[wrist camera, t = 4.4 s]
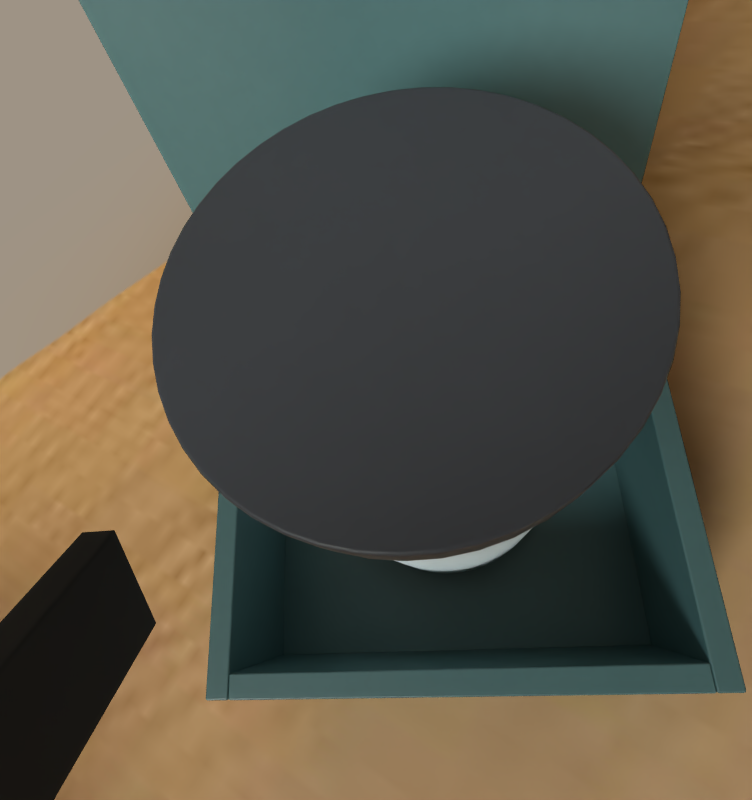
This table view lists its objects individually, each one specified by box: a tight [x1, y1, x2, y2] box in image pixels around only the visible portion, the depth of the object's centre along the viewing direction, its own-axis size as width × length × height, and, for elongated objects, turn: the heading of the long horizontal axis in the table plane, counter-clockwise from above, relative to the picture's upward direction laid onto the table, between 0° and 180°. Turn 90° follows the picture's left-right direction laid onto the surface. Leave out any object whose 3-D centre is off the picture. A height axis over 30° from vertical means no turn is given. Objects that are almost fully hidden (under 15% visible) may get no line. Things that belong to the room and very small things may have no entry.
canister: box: [152, 87, 681, 573], centre depth 17 cm, size 9×9×16 cm
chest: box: [206, 380, 746, 700], centre depth 22 cm, size 17×17×6 cm
